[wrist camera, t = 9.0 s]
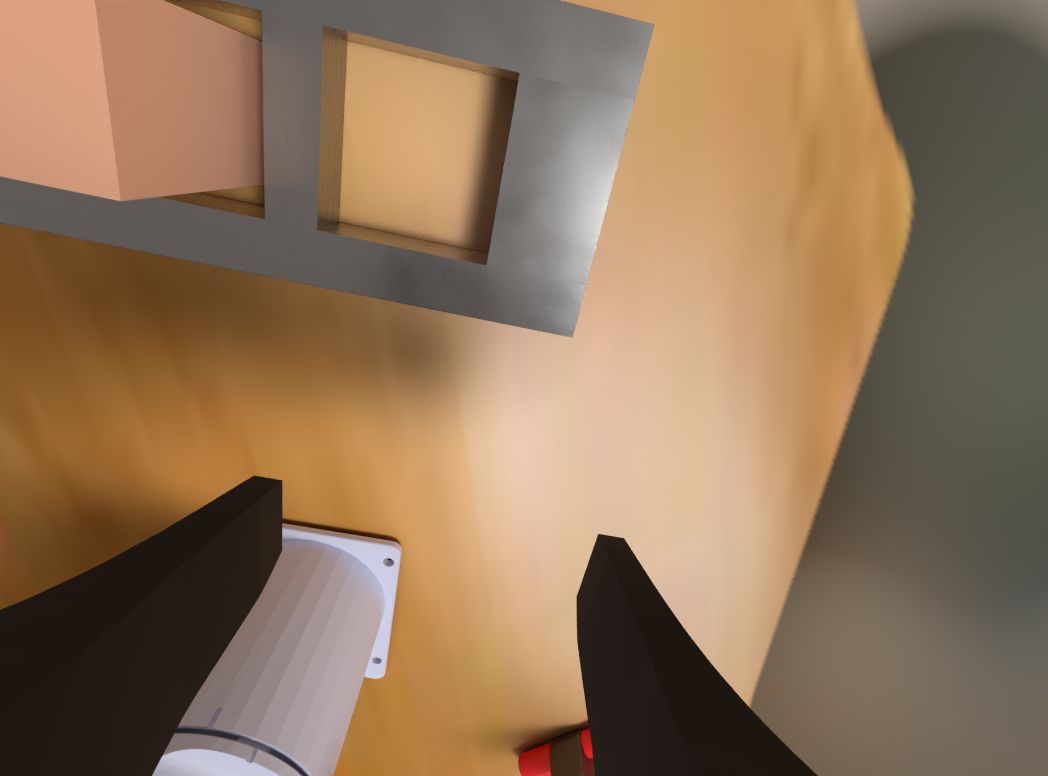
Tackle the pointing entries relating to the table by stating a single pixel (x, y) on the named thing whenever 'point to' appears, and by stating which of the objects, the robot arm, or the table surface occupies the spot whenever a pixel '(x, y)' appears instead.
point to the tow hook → (560, 757)
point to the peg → (128, 99)
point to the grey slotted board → (316, 157)
